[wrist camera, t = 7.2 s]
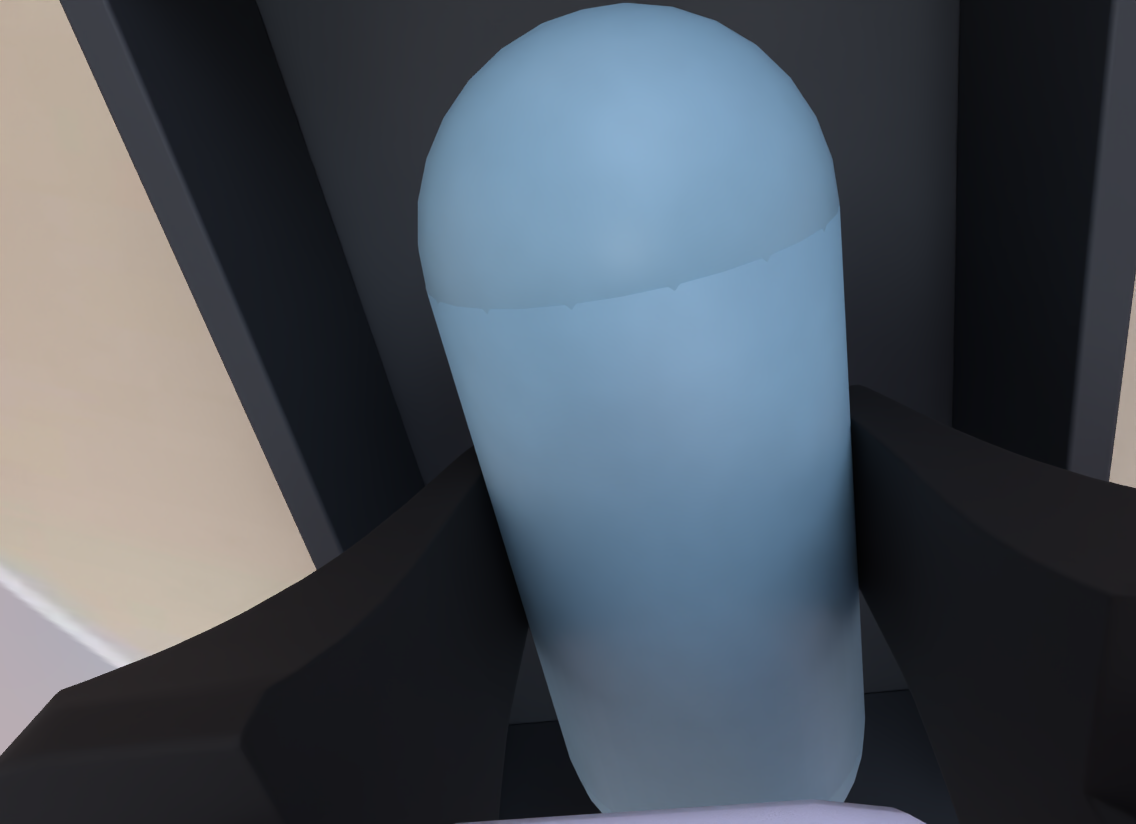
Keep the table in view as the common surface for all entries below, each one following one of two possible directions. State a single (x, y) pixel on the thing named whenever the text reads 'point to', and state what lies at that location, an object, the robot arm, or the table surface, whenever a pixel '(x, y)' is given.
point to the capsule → (660, 398)
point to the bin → (868, 232)
